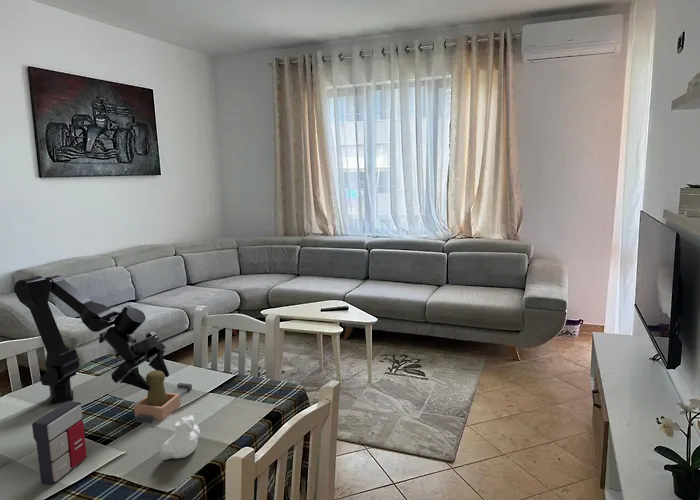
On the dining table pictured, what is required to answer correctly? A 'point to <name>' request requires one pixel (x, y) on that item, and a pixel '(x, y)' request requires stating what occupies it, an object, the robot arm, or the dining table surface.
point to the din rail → (181, 390)
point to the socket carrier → (157, 411)
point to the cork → (156, 388)
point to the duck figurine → (181, 439)
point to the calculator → (59, 441)
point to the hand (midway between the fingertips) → (159, 382)
